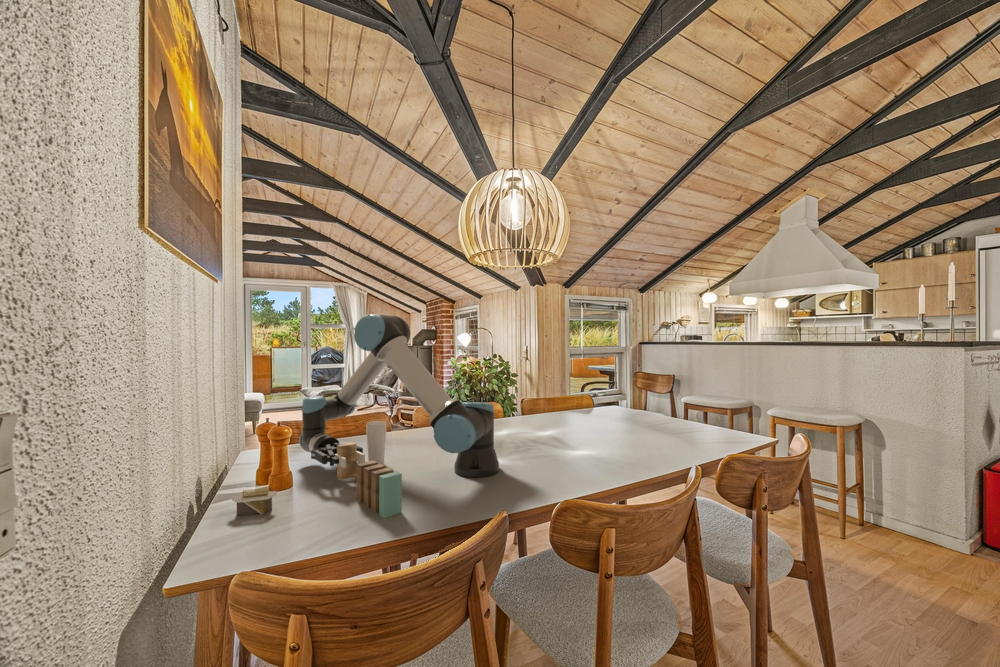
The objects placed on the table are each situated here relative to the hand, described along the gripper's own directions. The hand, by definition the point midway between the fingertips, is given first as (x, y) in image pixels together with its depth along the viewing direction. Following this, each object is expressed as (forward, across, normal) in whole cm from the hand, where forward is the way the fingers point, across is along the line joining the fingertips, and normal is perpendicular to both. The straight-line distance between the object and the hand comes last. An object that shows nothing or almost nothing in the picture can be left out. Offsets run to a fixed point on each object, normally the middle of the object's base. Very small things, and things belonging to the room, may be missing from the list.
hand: (354, 461), depth 119 cm
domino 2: (+8, 0, -9) cm, 12 cm away
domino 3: (+13, 0, -9) cm, 15 cm away
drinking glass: (-18, -16, -9) cm, 26 cm away
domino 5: (+21, 0, -9) cm, 23 cm away
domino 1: (-5, 0, -6) cm, 8 cm away
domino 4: (+17, 0, -9) cm, 19 cm away
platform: (-3, +25, -9) cm, 27 cm away
